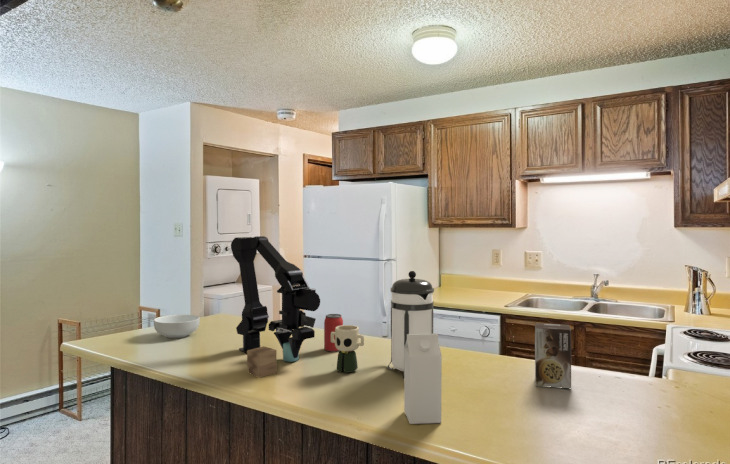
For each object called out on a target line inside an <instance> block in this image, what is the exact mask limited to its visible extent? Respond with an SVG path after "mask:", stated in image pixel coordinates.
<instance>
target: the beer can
mask: <svg viewBox="0 0 730 464" xmlns="http://www.w3.org/2000/svg"><path fill="white" fill-rule="evenodd" d="M342 325H344V320H343V317H342V314H340V313H339V314H338V313H328V314H325V318H324V322H323V326H324V327H323V331H324V332H323V339H324V340H323V342H324V343H323V344H324V346H323V348H324V350H325V351H326V352H329V353H330V352H331V353H332V352H333V353H336V352H339V351H340V350H338V349H337V348H336V346H335V343H332V342H331V332H335V328H336V327H337V326H342ZM334 340H335V335H334Z"/></svg>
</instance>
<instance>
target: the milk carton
mask: <svg viewBox="0 0 730 464" xmlns="http://www.w3.org/2000/svg"><path fill="white" fill-rule="evenodd" d="M440 346H441V345H440V343H439V334H438V333H433V334H407V340H406V344H405V347H404V371H403V374H404V379H403V380H404V381H403V382H404V383H403V385H404V386H403V387H404V388H403V391H404V392H403V393H404V395H403V401H404V403H403V404H404V405H403V411H404V413H405V415H406V418H407V420H408V423H409V424H410V425H413V424H414V425H418V424H441V423H442V374H443V373H442V371H443V369H442V368H443V367H442V358H443V355H442V350H441V347H440Z"/></svg>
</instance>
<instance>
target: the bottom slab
mask: <svg viewBox="0 0 730 464" xmlns="http://www.w3.org/2000/svg"><path fill="white" fill-rule="evenodd" d="M247 365H248V371H247V372H249V373H248V374H250V373H251V374H250V375H252V374H253V375H252V376H254V375H255V376H254V377H256V376H257V378H258V377H259V378H261V377H267V376H270V375H274V374H277V373H278V370H277V369H278V366H277V365H278V362H277V361H276V362H273V363H270V364H266V365H263V366H257V365H254V364H251V363H248V362H247Z"/></svg>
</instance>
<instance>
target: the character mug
mask: <svg viewBox="0 0 730 464" xmlns="http://www.w3.org/2000/svg"><path fill="white" fill-rule="evenodd" d="M334 335H335V340H334ZM331 342H332V343H335V346H336V348H337V349H338V350H340V351H338V353H337V361H336V370H337V372H342V371H343V373H352V372H355V371H357V370H358V359H357V354H356V350H358V349H359V347H364V345H365V338H364V335H363V334H360V328H359V326H357V325H353V324H352V325H351V324H343V325H342V326H337V327H336V328H335V332H331Z"/></svg>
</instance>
